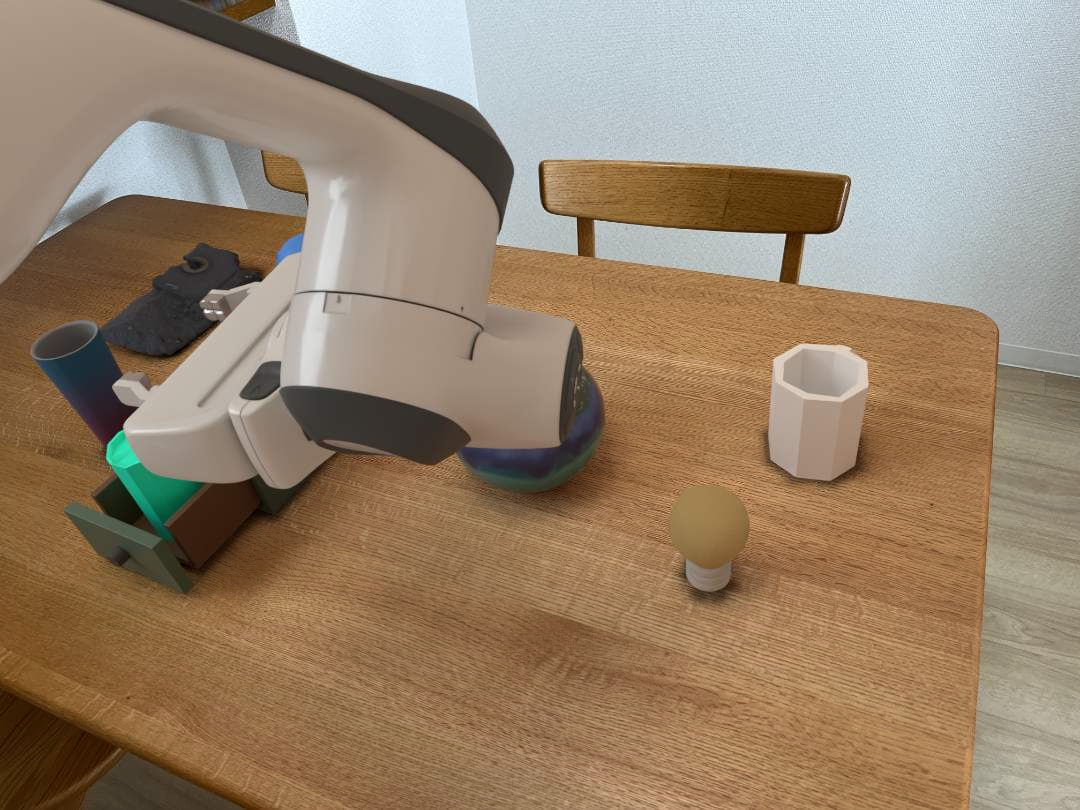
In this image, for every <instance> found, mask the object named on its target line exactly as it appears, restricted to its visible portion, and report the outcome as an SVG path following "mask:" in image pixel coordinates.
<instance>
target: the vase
mask: <svg viewBox="0 0 1080 810" xmlns="http://www.w3.org/2000/svg"><path fill="white" fill-rule="evenodd" d="M582 369H583V370H582V378H581V385H580V392H579V400H578V407H577V411H576V414H575V421H574V424H573V427H572V429H571V431H570V433H569V435H568V436H567V437H566V438H565V440H564V441H563V443H562V444H561V445H560V446H557V447H551V448H535V449H493V448H475V447H464V448H462V449H461V450H460V451H458V452H456V453H455V455H456V456H457V458H458V459H459V461H460V462H461V464H462V465H463V466H464V467H465V469H466V470H468V471H469V472H470V473H471V474H472V475H473V476H474V477H475V478H477V479H478V480H479V481H481V482H483V483H484V484H486V485H488V486H490V487H493V488H495V489H497V490H501V491H503V492H508V493H514V494H532V493H540V492H544V491H549V490H552V489H554V488H557V487H559V486H562V485H564V484H565V483H568V482H569V481H571V480H573V478H575V477H576V476H578V475H579V474H580V473H581V472H582V471H583V470H584V469H585V468H586V467H587V466H588V464H589V463H590V462H591V461H592V460H593V458H594V456H595V455H596V453H597V451H598V450H599V447H600V445H601V443H602V440H603V437H604V432H605V427H606V413H607V411H606V405H605V400H604V395H603V393H602V390H601V387H600V386H599V384H598V382H597V381H596V379H595V377H594V375H593V374H592V373H591V372H590V371H589V370H588V369H587V368H586V367H585V366H584V365H583V364H582Z"/></svg>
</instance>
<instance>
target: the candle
mask: <svg viewBox="0 0 1080 810" xmlns="http://www.w3.org/2000/svg"><path fill="white" fill-rule="evenodd" d="M105 459H106V461H107V463H108V464H109V465H110V467H111V468H112V470H113V471H114V473H115V472H116V474H117V475H118V477H119V478H120V480H121V481H122V482H123V484H124V485H125V487H126V488H127V490H128V491H129V492H130V494H131V495H132V497H133V498H134V500H135V501H136V502H137V504H138V505H139V507H140V508H141V510H142V511H143V513H144V514H145V515H146V517H147V518H148V520H149V521H150V523H151V524H152V525H153V527H154V528H155V530H156V531H157V533H158V534H159V535H160V537H161V538H162V539H165V540H170V541H175V540H174V539H173V537H172V536H171V534H170V533H169V531H168V530H167V529H166V527H165V526H164V523H165V522H166V521H167V520H168V519H169V518H170V517H172V516H173V515H174V514H175V513H176V512H177V511H178V510H179V509H180V508H181V507H182V506H183V505H184V504H185V503H186V502H187V501H188V500H189V499H190V498H191V497H192V496H193V495H194V494H195V493H196V492H197V491H198V490H199V489H200V488H201V487H202V486H203V485H204V483H203V482H196V481H187V480H180V479H174V478H168V477H163V476H159V475H156V474H153V473H151V472H150V471H149V470H147V469H146V468H145V467H144V466H143V464H142V463H141V462H140V461H139V459H138V458H137V457H136V455H135V454H134V452H133V450H132V449H131V447H130V445H129V443H128V441H127V439H126V436H125V433H124V430H122V431H120V432H118V433H117V435H116V436H115V437H114V438H113V439H112V440H111V441H110V442H109V444H108V445H107V449H106V455H105Z"/></svg>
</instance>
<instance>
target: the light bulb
mask: <svg viewBox="0 0 1080 810" xmlns="http://www.w3.org/2000/svg"><path fill="white" fill-rule="evenodd" d="M667 529H668V530H667V532H668V536H669V538H670V541H671V543H672V545H673V546H674V548H675V550H676V551H677V552H678V553H679V554H680V555H681V557H683V558H685V574H686V578H687V580H688V582H689V583H690V584H691V585H692V586H693V587H694V588H695V589H697V590H700V591H703V592H709V593H711V592H717V591H720V590H722V589H723V588H725V587H726V586H727V585H728V583H729V582H730V580H731V577H732V560H734V559H735V558H737V556H739V555H740V553H742V551H743V549H744V548H745V546H746V545H747V543H748V539H749V537H750V530H751V522H750V517H749V513H748V510H747V507H746V505H745V504H744V502H743V500H742V499H741V498H740V497H739V496H738V495H737V494H736V493H734V492H733V491H731V490H729V489H727V488H725V487H722V486H718V485H713V484H698V485H693V486H691V487H689V488H687V489H685V490H684V491H682V492H681V494H679V496H677V498H676V499H675V501H674V502H673V504H672V506H671V508H670V511H669V514H668V520H667Z"/></svg>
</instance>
